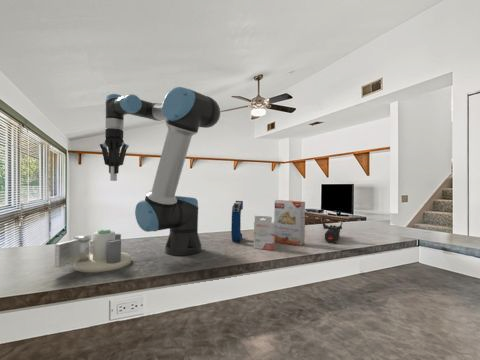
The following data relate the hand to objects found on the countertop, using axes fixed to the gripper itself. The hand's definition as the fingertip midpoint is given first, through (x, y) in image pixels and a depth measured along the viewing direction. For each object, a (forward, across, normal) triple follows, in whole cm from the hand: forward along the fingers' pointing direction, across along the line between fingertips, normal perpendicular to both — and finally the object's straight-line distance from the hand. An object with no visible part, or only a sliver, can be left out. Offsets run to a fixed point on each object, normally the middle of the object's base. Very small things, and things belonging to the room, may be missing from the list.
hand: (113, 180), depth 125 cm
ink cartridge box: (+30, -69, -6) cm, 75 cm away
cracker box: (+30, -81, -18) cm, 88 cm away
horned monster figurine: (+30, -105, -31) cm, 113 cm away
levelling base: (+29, -13, +27) cm, 42 cm away
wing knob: (+27, -7, +34) cm, 44 cm away
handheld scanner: (+30, -55, -20) cm, 66 cm away
